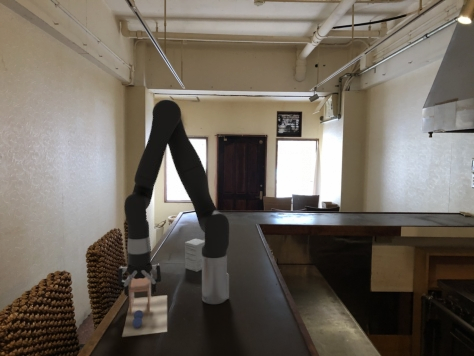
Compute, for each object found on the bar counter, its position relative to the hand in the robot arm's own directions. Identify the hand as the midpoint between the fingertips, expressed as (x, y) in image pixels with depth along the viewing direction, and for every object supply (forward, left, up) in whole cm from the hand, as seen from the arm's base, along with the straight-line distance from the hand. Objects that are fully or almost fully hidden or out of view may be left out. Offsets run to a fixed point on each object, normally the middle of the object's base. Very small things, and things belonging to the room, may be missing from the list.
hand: (140, 294), depth 113 cm
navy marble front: (+5, +13, -3) cm, 14 cm away
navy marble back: (+3, +9, -3) cm, 10 cm away
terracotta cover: (0, 0, -4) cm, 4 cm away
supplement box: (-32, -24, -5) cm, 40 cm away
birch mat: (0, +6, -5) cm, 8 cm away
